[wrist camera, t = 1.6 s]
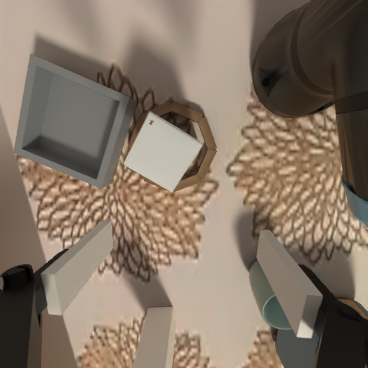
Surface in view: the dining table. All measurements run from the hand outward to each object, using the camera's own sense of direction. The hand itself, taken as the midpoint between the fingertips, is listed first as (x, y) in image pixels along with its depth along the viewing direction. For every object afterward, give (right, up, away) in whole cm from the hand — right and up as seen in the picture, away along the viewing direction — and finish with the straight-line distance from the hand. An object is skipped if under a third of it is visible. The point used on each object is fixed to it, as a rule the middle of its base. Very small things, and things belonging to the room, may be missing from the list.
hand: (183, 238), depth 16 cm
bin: (-19, +15, +18) cm, 30 cm away
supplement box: (-2, +12, +18) cm, 21 cm away
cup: (+17, -13, +23) cm, 32 cm away
